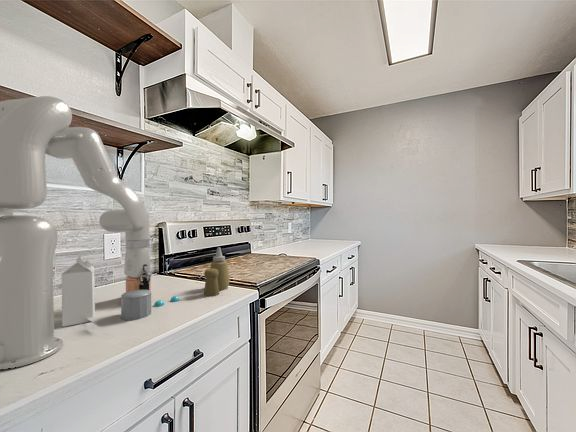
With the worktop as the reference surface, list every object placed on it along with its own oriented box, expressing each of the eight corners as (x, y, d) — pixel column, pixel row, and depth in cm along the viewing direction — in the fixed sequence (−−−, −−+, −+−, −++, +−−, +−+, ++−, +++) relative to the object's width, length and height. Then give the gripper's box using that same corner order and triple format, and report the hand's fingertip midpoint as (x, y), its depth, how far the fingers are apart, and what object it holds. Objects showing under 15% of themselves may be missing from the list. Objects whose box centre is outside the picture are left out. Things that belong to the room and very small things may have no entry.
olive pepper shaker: (199, 299, 99) (199, 269, 98) (211, 294, 104) (211, 266, 104) (212, 301, 96) (211, 271, 96) (223, 297, 101) (223, 268, 101)
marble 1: (164, 310, 88) (156, 310, 86) (159, 308, 90) (151, 308, 88) (167, 301, 89) (159, 301, 87) (162, 299, 91) (154, 299, 88)
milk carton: (62, 327, 75) (60, 260, 75) (66, 319, 81) (65, 257, 81) (93, 321, 79) (92, 257, 79) (95, 314, 85) (94, 254, 85)
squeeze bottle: (205, 291, 108) (205, 247, 108) (223, 287, 114) (223, 245, 113) (214, 296, 102) (214, 249, 102) (233, 291, 108) (232, 247, 107)
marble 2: (172, 305, 91) (174, 297, 91) (167, 303, 92) (170, 294, 93) (179, 306, 93) (182, 297, 94) (175, 303, 95) (177, 295, 95)
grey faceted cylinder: (129, 327, 75) (128, 299, 74) (117, 321, 79) (116, 294, 79) (156, 318, 81) (155, 292, 81) (143, 313, 85) (143, 288, 85)
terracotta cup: (132, 303, 90) (132, 280, 90) (122, 299, 95) (121, 277, 95) (154, 297, 97) (154, 275, 97) (144, 294, 101) (144, 273, 101)
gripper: (115, 244, 98) (116, 292, 98) (138, 247, 87) (139, 300, 88) (137, 242, 104) (137, 287, 104) (160, 245, 93) (161, 294, 94)
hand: (138, 293), depth 96 cm, fingers closed on terracotta cup, 7 cm apart
